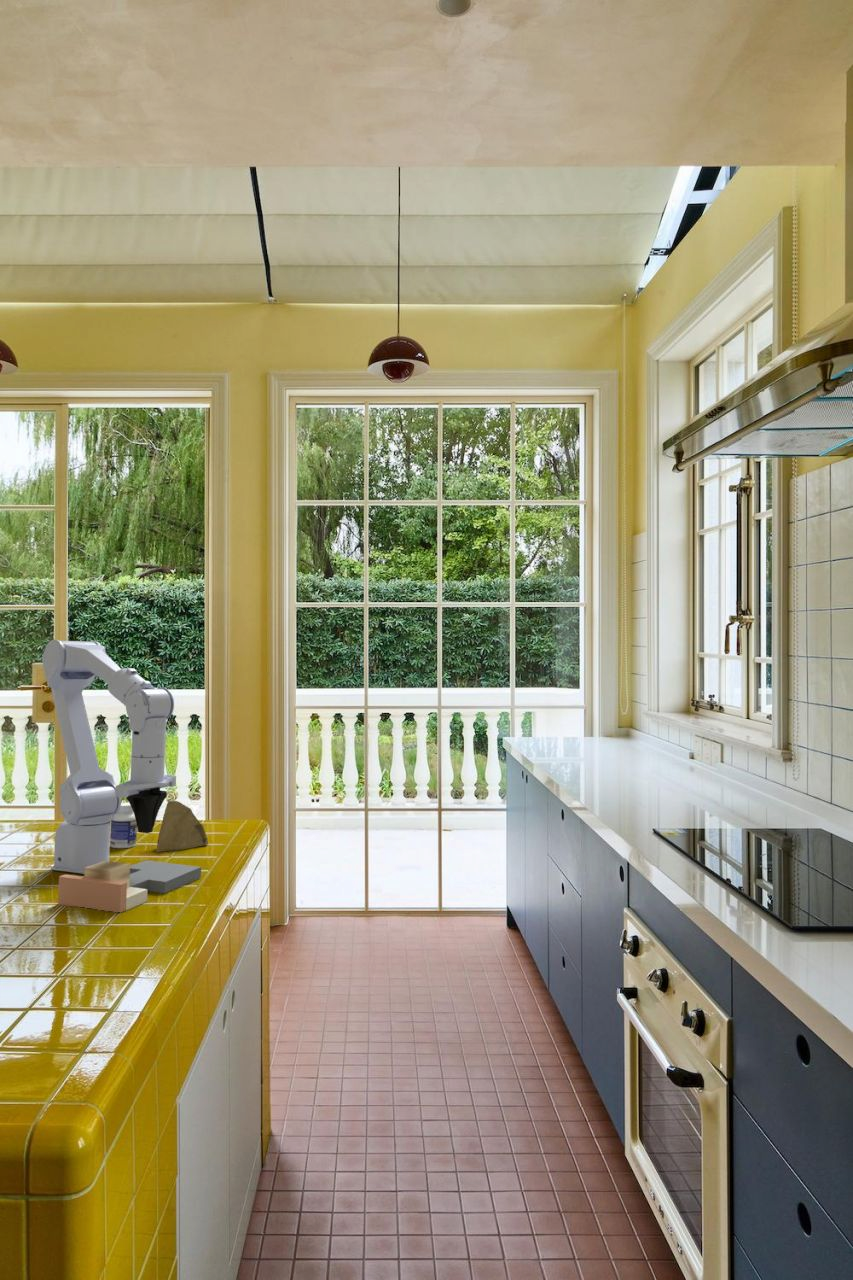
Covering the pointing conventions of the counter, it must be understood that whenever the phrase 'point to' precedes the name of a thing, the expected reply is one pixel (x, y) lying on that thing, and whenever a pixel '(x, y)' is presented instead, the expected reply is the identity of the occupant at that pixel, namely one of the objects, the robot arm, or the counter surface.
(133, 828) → the pill bottle
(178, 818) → the rock
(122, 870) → the maple block
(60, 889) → the plate
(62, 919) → the counter surface
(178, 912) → the counter surface
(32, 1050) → the counter surface
